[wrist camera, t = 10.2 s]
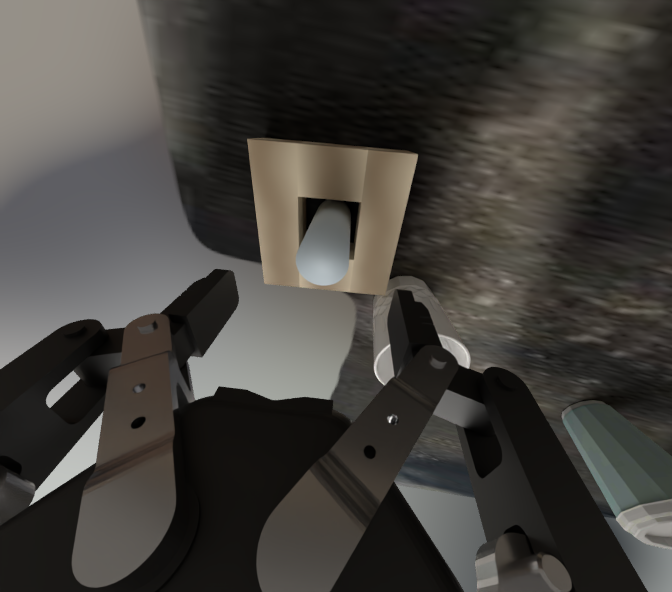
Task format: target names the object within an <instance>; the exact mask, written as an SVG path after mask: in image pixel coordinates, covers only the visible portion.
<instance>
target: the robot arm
mask: <svg viewBox="0 0 672 592" xmlns="http://www.w3.org/2000/svg"><path fill="white" fill-rule="evenodd" d="M238 302H239V296H238V291H237V286H236V281H235V276H234V273H233V271H231V270H221V269H215V270H213V271H212V272H211V273H210V274H209V275H208V276H207V277H206V278H202V279H200V280H198V281H196V282H194V283H193V284H192V285H191V286H190V287H188V288H187V290H185V291H184V292H183V293H182V294H181V296H179V297H177V299H175V300H174V301H173V302H172V303H171V304H170V305H169V306H168V307H167V308H165V310H163V311H162V312H161V313H160V314H148V315H145V316H141V317H139V318H137V319H135V320H133V321H132V322H130V323H129V324H128V325H127V326H126V327H125V328H117V329H108V330H105V329H104V327H103V326H102V324H101V323H100V322H99V321H97V320H93V319H87V320H80V321H76V322H73V323H70V324H67V325H65V326H63V327H61V328H59V329H57V330H56V331H54V332H53V333H52V334H50V335H49V336H47V337H46V338H44V339H43V340H42V341H40V342H39V343H37V344H36V345H34V346H33V347H32V348H30V349H29V350H27V351H26V352H24V353H23V354H22V355H20V356H19V357H18V358H16V359H14V360H13V361H12V362H10V363H9V364H7V365H6V366H4V367H3V368H2V369H0V592H464V591H463V589H462V587H461V585H460V584H459V582H458V580H457V579H456V577H455V576H454V574H453V573H452V571H451V569H450V568H449V566H448V565H447V563H446V562H445V560H444V559H443V557H442V556H441V554H440V552H439V551H438V549H437V548H436V546H435V545H434V543H433V542H432V540H431V538H430V537H429V535H428V534H427V532H426V531H425V529H424V527H423V526H422V524H421V523H420V521H419V520H418V518H417V517H416V515H415V514H414V512H413V510H412V509H411V507H410V506H409V504H408V503H407V501H406V500H405V498H404V497H403V495H402V494H401V492H400V490H399V489H398V487H397V486H396V484H395V482H394V480H395V478H396V476H397V475H398V473H399V471H400V469H401V468H402V466H403V464H404V463H405V461H406V459H407V457H408V456H409V454H410V452H411V450H412V449H413V447H414V445H415V443H416V442H417V440H418V438H419V437H420V435H421V433H422V431H423V430H424V428H425V426H426V424H427V423H428V421H429V419H430V417H431V416H432V414H434V415H436V416H439V417H441V418H443V419H446V420H448V421H450V422H452V423H455V424H456V428H457V431H458V435H459V439H460V443H461V446H462V450H463V454H464V458H465V461H466V465H467V469H468V473H469V476H470V480H471V484H472V488H473V491H474V495H475V499H476V503H477V506H478V510H479V514H480V518H481V521H482V525H483V529H484V532H485V536H486V540H487V543H485V544H483V545H482V546H481V547H480V548H479V550H478V552H477V555H476V560H475V567H476V575H477V592H648V591H647V590H646V588H645V586H644V585H643V583H642V581H641V579H640V578H639V576H638V574H637V572H636V571H635V569H634V568H633V566H632V564H631V562H630V561H629V559H628V557H627V556H626V554H625V552H624V551H623V549H622V547H621V545H620V544H619V542H618V540H617V538H616V537H615V535H614V533H613V532H612V530H611V528H610V527H609V525H608V523H607V522H606V520H605V519H604V516H603V515H602V513H601V511H600V510H599V508H598V506H597V505H596V503H595V501H594V499H593V498H592V496H591V494H590V493H589V491H588V489H587V488H586V486H585V484H584V482H583V481H582V479H581V477H580V476H579V474H578V472H577V471H576V469H575V467H574V465H573V464H572V462H571V460H570V459H569V457H568V455H567V454H566V452H565V450H564V448H563V447H562V445H561V443H560V442H559V440H558V438H557V437H556V435H555V433H554V431H553V430H552V428H551V426H550V425H549V423H548V421H547V420H546V418H545V416H544V414H543V413H542V411H541V409H540V408H539V406H538V404H537V403H536V401H535V399H534V397H533V396H532V394H531V392H530V391H529V389H528V387H527V386H526V384H525V383H524V382H523V381H522V380H521V379H520V378H519V377H517V376H516V375H515V374H513V373H511V372H510V371H508V370H505V369H503V368H499V367H490V368H487V369H486V370H485V371H484V372H483V374H482V373H479V372H476V371H474V370H471V369H468V368H466V367H463V366H461V365H459V364H458V361H457V359H456V358H455V356H454V355H453V354H452V353H451V352H449V351H448V350H446V349H444V348H443V347H442V344H441V342H440V339H439V336H438V334H437V331H436V329H435V326H434V325H433V321H432V318H431V315H430V313H429V310H428V309H427V308H426V306H425V305H424V304H423V303H422V302H417V301H415V300H414V296H413V293H412V291H410V290H401V289H395V291H394V294H393V298H392V301H391V305H390V309H389V313H388V318H387V327H388V334H389V341H390V348H391V355H392V363H393V370H394V377H392V378H391V379H390V380H389V381H388V382H387V384H386V385H385V386H384V387H383V388H382V389H381V391H380V392H379V393H378V394H377V395H376V396H375V398H374V399H373V400H372V401H371V402H370V404H369V405H368V406H367V407H366V408H365V409H364V411H363V412H362V413H361V414H360V415H359V416H358V418H357V419H356V420H355V421H354V422H352V421H351V420H350V419H349V418H348V417H346V416H345V415H343V414H341V413H340V412H338V411H335V410H333V409H332V408H333V400H326V399H318V398H309V397H300V398H292V399H284V400H270V399H268V398H265V397H263V396H260V395H258V394H256V393H253V392H250V391H248V390H243V389H236V388H227V387H218V389H217V391H216V392H215V394H214V396H209V397H205V398H202V399H198V400H195V398H194V392H193V387H192V381H191V375H190V369H189V364H188V362H187V360H188V359H189V357H190V356H196V357H203V355H204V354H205V352H206V351H207V349H208V348H209V347H210V345H211V344H212V343H213V341H214V340H215V338H216V337H217V335H218V334H219V332H220V331H221V330H222V328H223V327H224V325H225V324H226V322H227V321H228V320H229V318H230V317H231V315H232V314H233V312H234V311H235V310H236V308H237V306H238ZM73 370H74V372H75V373H76V374H77V375H78V376H79V377H80V378H81V379H80V380H79V381H78V382H77V383H76V384H75V385H74V386H73V387H72V388H71V389H70V390H68V391H67V392H66V393H65V394H64V395H63V396H62V397H61V398H60V399H59V400H58V401H57V402H56V403H55V404H54V405H53V406H52V407H51V408H49V407H48V406H47V404H46V397H47V395H48V393H49V392H50V391H51V390H52V389H53V388H54V387H55V386H56V385H57V384H58V383H59V382H61V381H62V379H64V378H65V377H66V376H67V375H68V374H69V373H70V372H72V371H73ZM102 412H103V418H102V425H101V432H100V439H99V446H98V453H97V460H96V463H95V464H93V465H92V466H90V467H89V468H87V469H86V470H84V471H83V472H81V473H79V474H78V475H76V476H75V477H73V478H72V479H70V480H69V481H67V482H66V483H64V484H63V485H61V486H60V487H58V488H57V489H55V490H54V491H52V492H50V493H49V494H47V495H46V496H45V497H43V498H41V499H40V500H38V501H37V502H35V503H34V504H32V505H30V503H31V502H32V500H33V497H34V494H35V491H36V490H37V489H38V488H39V486H40V485H41V484H42V483H43V482H44V481H45V479H46V478H47V477H48V476H49V475H50V473H51V472H52V471H53V470H54V469H55V468H56V466H57V465H58V464H59V463H60V462H61V461H62V459H63V458H64V457H65V456H66V455H67V453H68V452H69V451H70V450H71V449H72V448H73V446H74V445H75V444H76V443H77V442H78V440H79V439H80V438H81V437H82V435H84V433H85V432H86V431H87V430H88V429H89V428H90V426H91V425H92V424H93V423H94V422H95V420H96V419H97V418H98V417H99V416H100V415H101V413H102ZM29 505H30V506H29Z"/></svg>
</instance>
